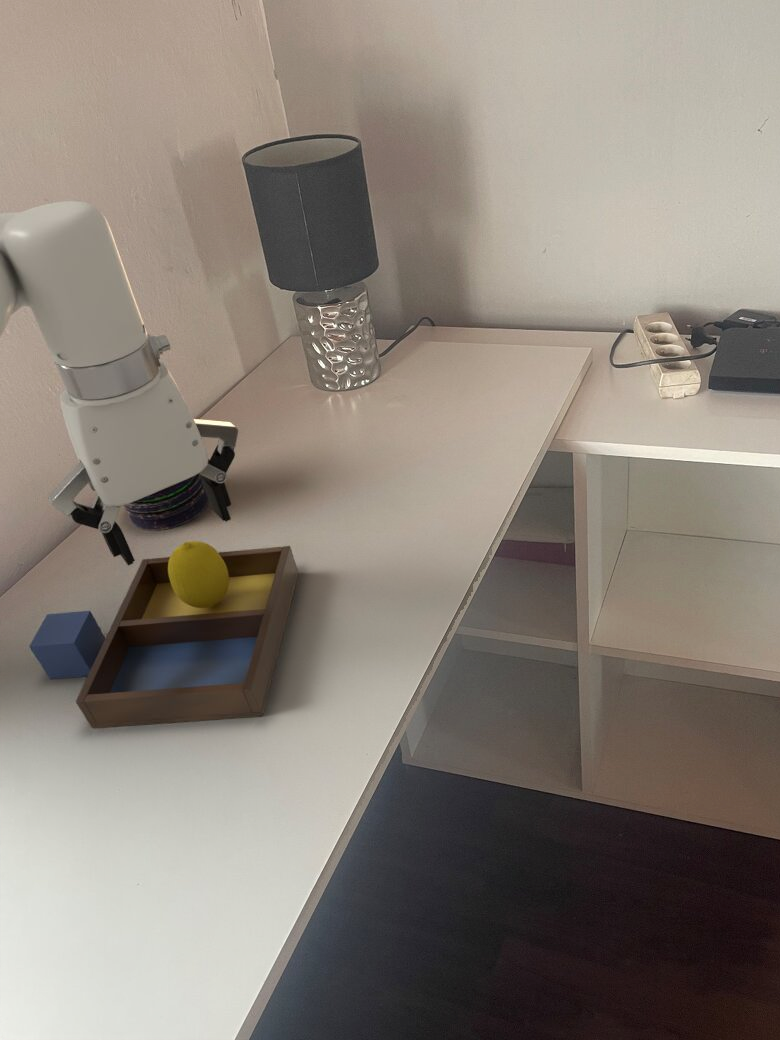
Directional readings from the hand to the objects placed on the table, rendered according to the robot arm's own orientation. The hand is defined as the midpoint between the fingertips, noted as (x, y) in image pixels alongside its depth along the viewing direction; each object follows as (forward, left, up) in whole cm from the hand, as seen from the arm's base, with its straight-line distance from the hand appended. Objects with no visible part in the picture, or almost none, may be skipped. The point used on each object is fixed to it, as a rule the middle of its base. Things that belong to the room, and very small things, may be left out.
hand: (175, 535), depth 82 cm
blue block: (-12, -6, -10) cm, 16 cm away
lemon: (+1, 0, -9) cm, 9 cm away
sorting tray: (+1, -5, -10) cm, 11 cm away
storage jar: (-10, +20, -10) cm, 25 cm away
